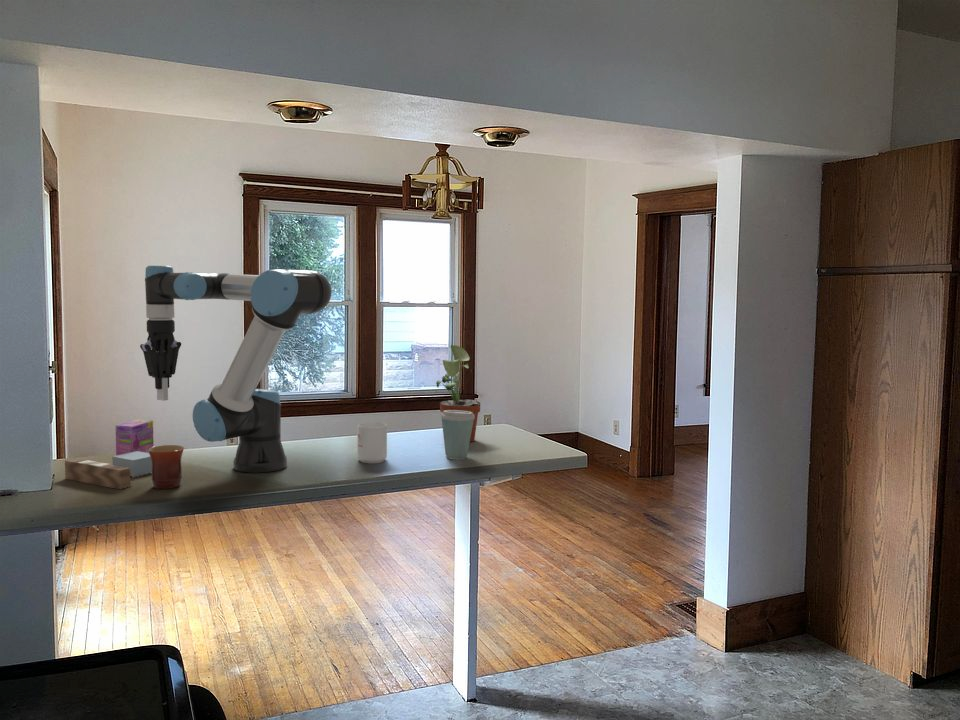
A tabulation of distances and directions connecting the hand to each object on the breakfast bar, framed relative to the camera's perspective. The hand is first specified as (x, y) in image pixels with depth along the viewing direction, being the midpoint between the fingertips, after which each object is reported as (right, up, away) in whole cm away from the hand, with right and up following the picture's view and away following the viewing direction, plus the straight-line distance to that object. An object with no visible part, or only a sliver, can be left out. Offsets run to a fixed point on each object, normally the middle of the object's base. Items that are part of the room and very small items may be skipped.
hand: (162, 399), depth 227 cm
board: (-10, -21, -19) cm, 30 cm away
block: (-5, -20, -7) cm, 22 cm away
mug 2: (+59, -19, +12) cm, 63 cm away
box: (-11, -19, +6) cm, 23 cm away
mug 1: (+10, -22, -20) cm, 31 cm away
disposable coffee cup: (+86, -19, +17) cm, 89 cm away
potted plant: (+85, -17, +43) cm, 97 cm away
